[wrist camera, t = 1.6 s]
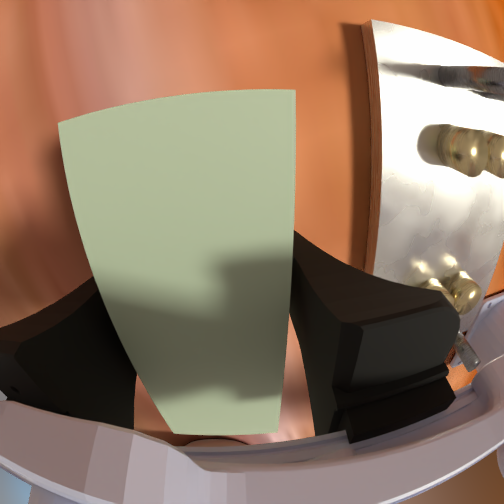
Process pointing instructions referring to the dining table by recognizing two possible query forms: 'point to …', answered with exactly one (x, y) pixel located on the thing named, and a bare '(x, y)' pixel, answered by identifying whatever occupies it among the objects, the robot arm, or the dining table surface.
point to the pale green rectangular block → (193, 246)
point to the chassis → (435, 167)
